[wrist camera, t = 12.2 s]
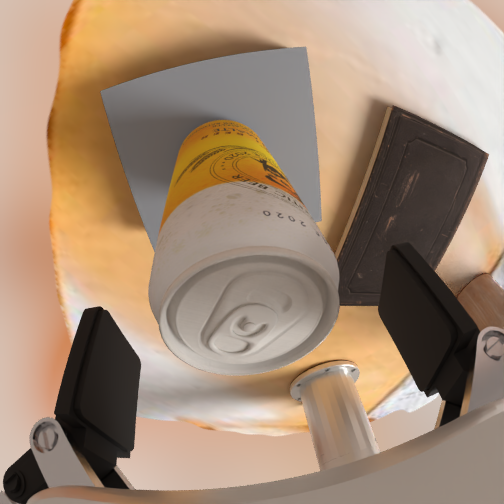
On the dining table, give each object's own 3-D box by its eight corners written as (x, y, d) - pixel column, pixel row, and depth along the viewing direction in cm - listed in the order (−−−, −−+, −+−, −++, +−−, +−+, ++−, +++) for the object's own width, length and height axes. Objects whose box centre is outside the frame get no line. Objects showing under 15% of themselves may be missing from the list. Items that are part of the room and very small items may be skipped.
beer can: (281, 146, 21) (389, 289, 9) (234, 211, 23) (272, 392, 11) (207, 101, 18) (211, 191, 6) (163, 175, 21) (119, 353, 9)
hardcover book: (312, 292, 36) (318, 305, 34) (381, 101, 24) (394, 105, 22) (408, 294, 40) (416, 305, 38) (478, 148, 27) (491, 156, 25)
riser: (307, 199, 28) (321, 221, 25) (161, 231, 28) (156, 256, 25) (290, 48, 20) (306, 46, 17) (116, 86, 19) (100, 91, 16)
